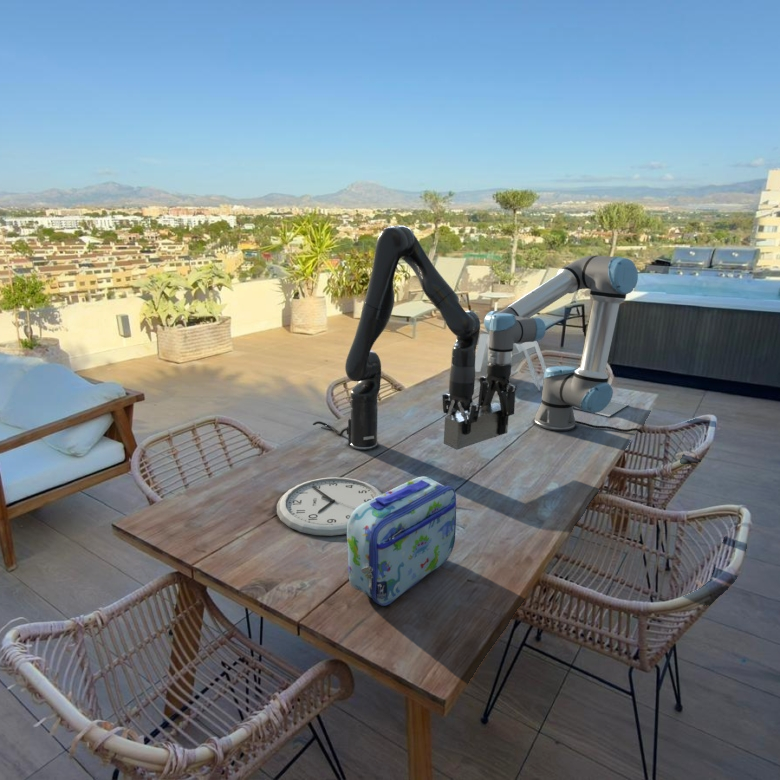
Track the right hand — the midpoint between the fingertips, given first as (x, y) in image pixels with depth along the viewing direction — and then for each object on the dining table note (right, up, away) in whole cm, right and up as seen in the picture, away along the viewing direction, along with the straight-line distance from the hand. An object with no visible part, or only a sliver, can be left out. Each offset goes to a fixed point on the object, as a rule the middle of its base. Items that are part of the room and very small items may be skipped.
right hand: (493, 430), depth 173 cm
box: (-7, -2, -5) cm, 8 cm away
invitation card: (+57, +6, +54) cm, 79 cm away
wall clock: (-50, -18, -30) cm, 61 cm away
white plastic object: (+22, +16, +84) cm, 88 cm away
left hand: (-13, +1, -11) cm, 17 cm away
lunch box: (-32, -28, -59) cm, 72 cm away
